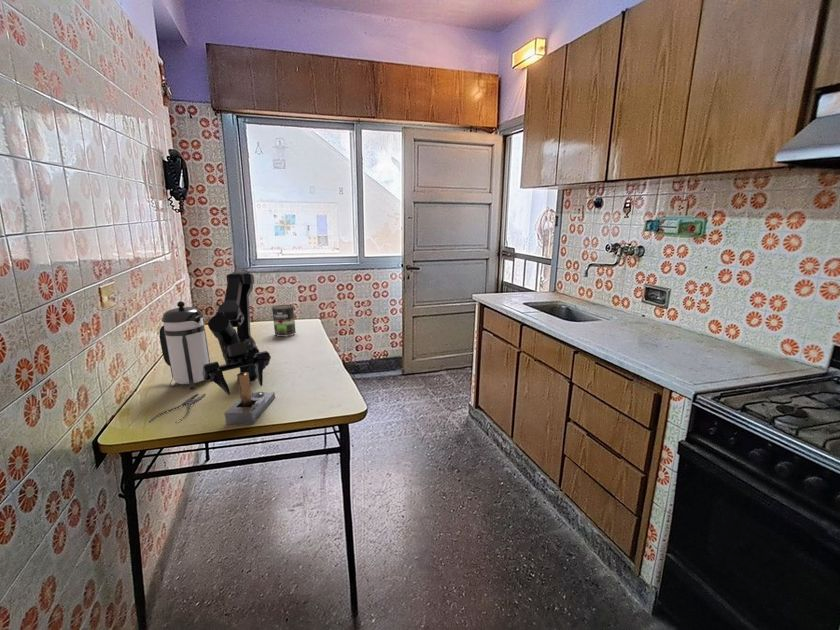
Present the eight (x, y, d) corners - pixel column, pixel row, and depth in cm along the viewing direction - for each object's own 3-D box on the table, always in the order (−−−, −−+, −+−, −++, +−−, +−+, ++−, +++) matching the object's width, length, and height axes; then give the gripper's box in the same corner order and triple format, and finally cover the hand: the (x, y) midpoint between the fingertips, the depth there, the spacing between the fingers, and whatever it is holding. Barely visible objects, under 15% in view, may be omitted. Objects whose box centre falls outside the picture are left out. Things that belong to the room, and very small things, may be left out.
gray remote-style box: (251, 397, 138) (250, 387, 137) (275, 397, 138) (273, 387, 137) (226, 424, 121) (224, 413, 120) (253, 424, 121) (251, 412, 120)
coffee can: (292, 336, 206) (289, 308, 203) (271, 337, 207) (268, 309, 203) (299, 330, 216) (296, 304, 213) (279, 331, 217) (276, 304, 213)
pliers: (145, 423, 122) (176, 394, 141) (145, 426, 122) (176, 397, 141) (180, 421, 123) (206, 392, 142) (181, 423, 123) (206, 395, 142)
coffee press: (218, 371, 163) (207, 295, 155) (214, 386, 148) (201, 303, 141) (167, 378, 157) (153, 299, 150) (157, 394, 142) (141, 308, 135)
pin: (245, 412, 128) (240, 372, 125) (255, 412, 128) (250, 372, 125) (240, 417, 125) (235, 376, 122) (251, 417, 125) (246, 376, 122)
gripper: (198, 338, 118) (213, 386, 113) (265, 325, 130) (282, 369, 124) (196, 357, 126) (210, 403, 121) (259, 344, 137) (275, 386, 132)
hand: (245, 389), depth 124 cm, fingers open, 9 cm apart
